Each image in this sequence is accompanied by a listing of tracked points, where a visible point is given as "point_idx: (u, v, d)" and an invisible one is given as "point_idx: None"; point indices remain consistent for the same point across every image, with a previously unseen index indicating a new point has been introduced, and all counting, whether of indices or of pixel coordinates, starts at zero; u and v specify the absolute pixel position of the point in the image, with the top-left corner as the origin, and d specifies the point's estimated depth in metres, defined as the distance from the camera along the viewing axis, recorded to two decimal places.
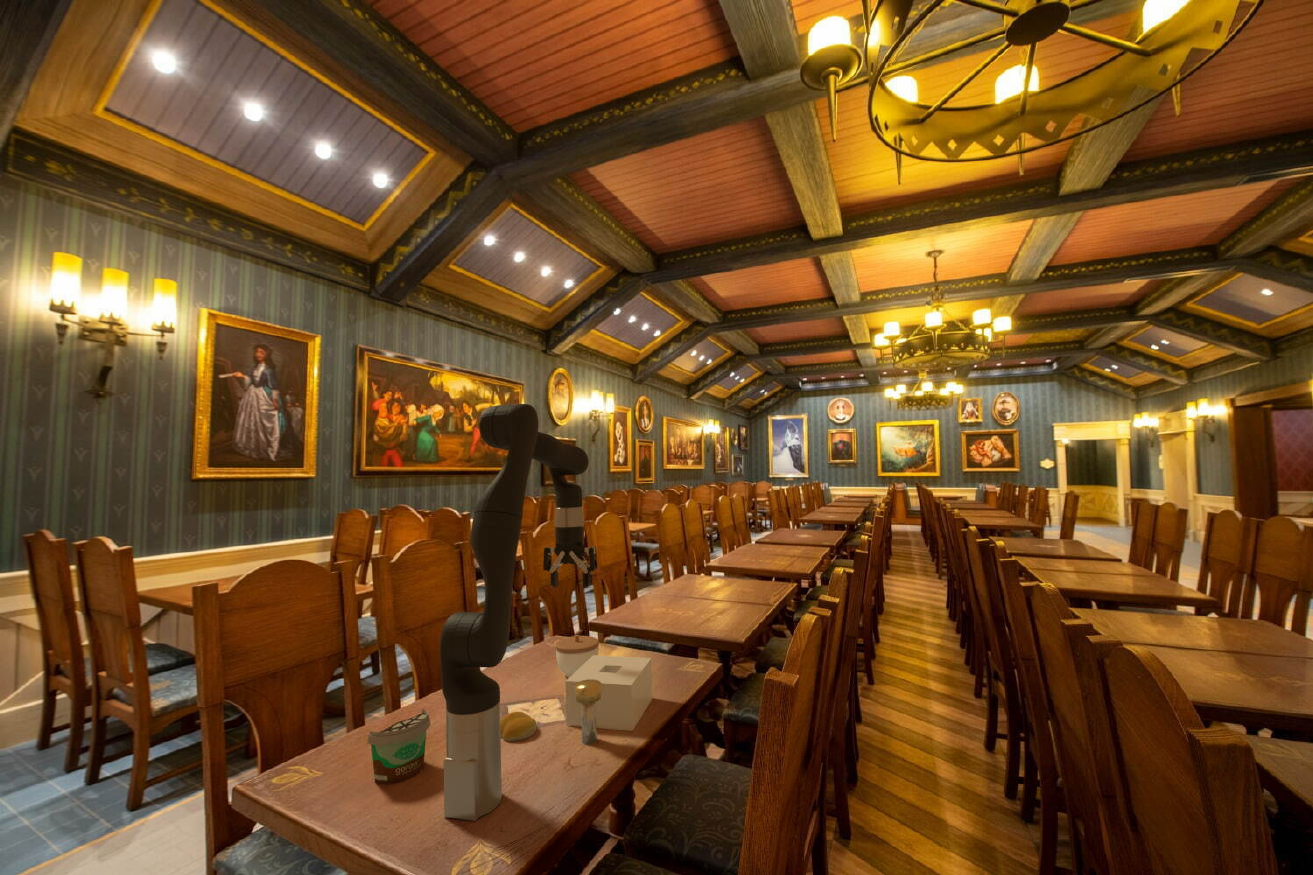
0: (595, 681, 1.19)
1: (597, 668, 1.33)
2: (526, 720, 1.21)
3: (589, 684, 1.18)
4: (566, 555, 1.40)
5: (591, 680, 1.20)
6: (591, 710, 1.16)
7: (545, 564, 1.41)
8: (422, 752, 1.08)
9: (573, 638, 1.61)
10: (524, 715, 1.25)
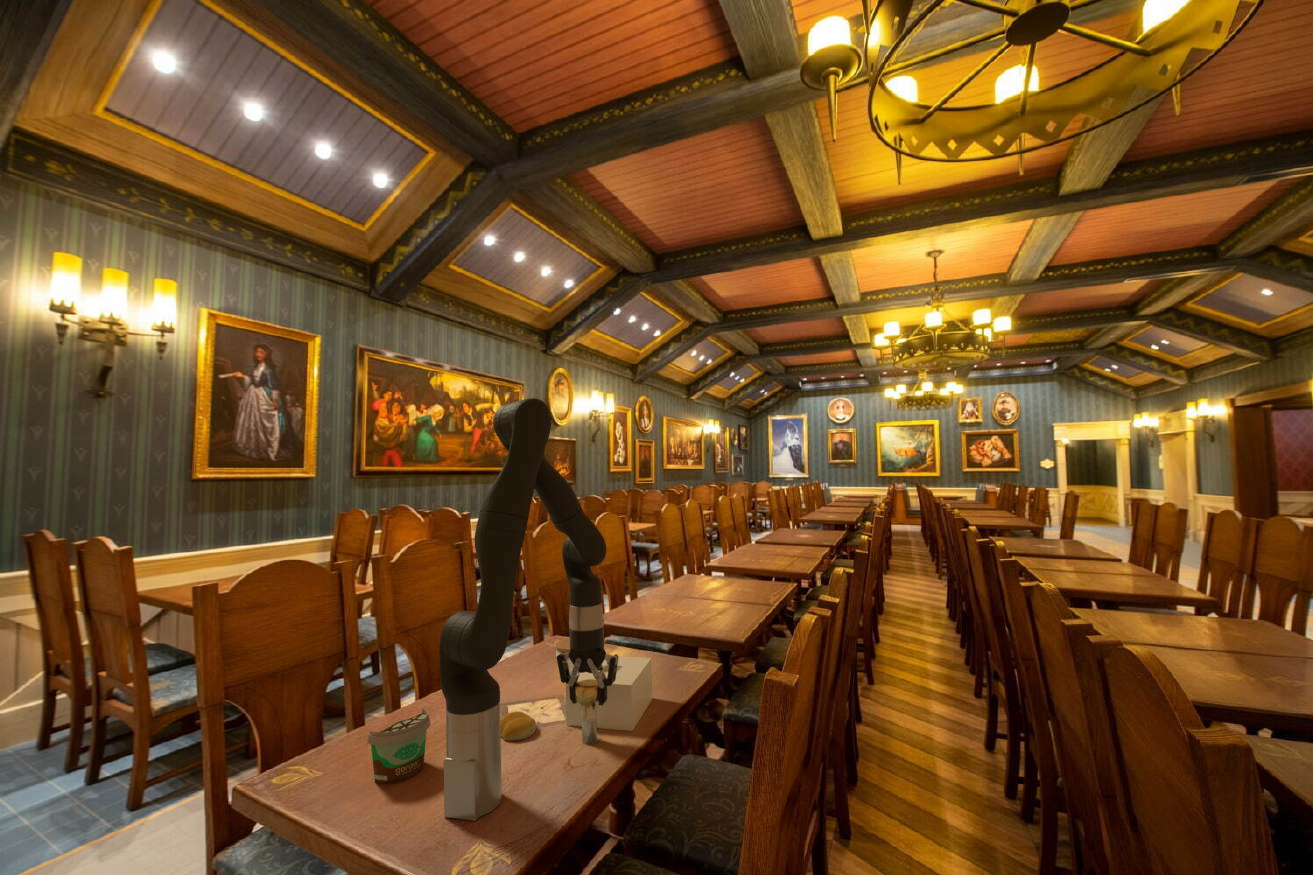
0: (595, 681, 1.19)
1: None
2: (526, 720, 1.21)
3: (589, 684, 1.18)
4: (583, 662, 1.17)
5: (591, 680, 1.20)
6: (592, 710, 1.16)
7: (562, 675, 1.18)
8: (422, 752, 1.08)
9: None
10: (523, 715, 1.25)
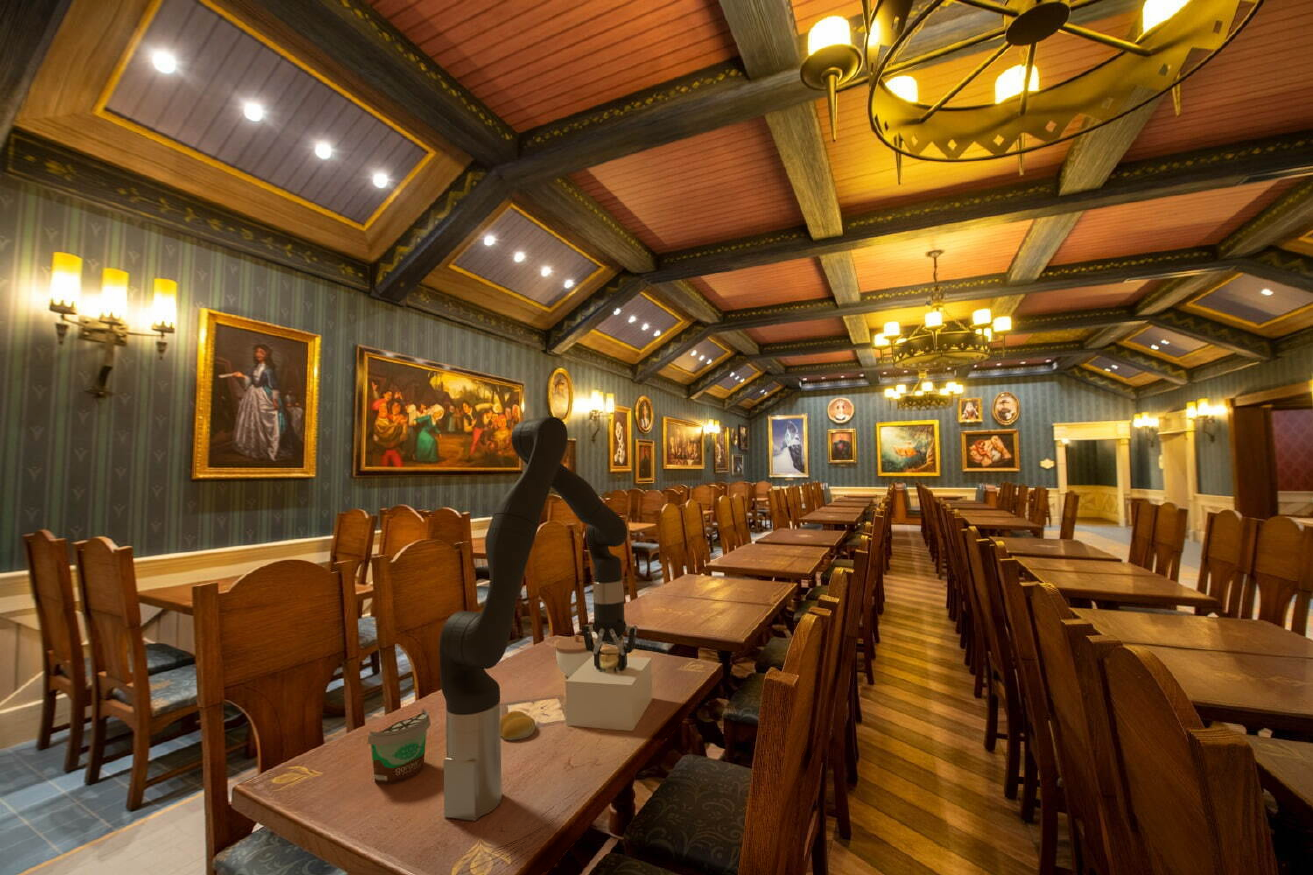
0: (617, 650, 1.34)
1: None
2: (525, 719, 1.22)
3: (611, 652, 1.32)
4: (606, 632, 1.32)
5: (613, 649, 1.35)
6: None
7: (587, 644, 1.33)
8: (422, 752, 1.08)
9: (573, 638, 1.61)
10: (523, 714, 1.25)
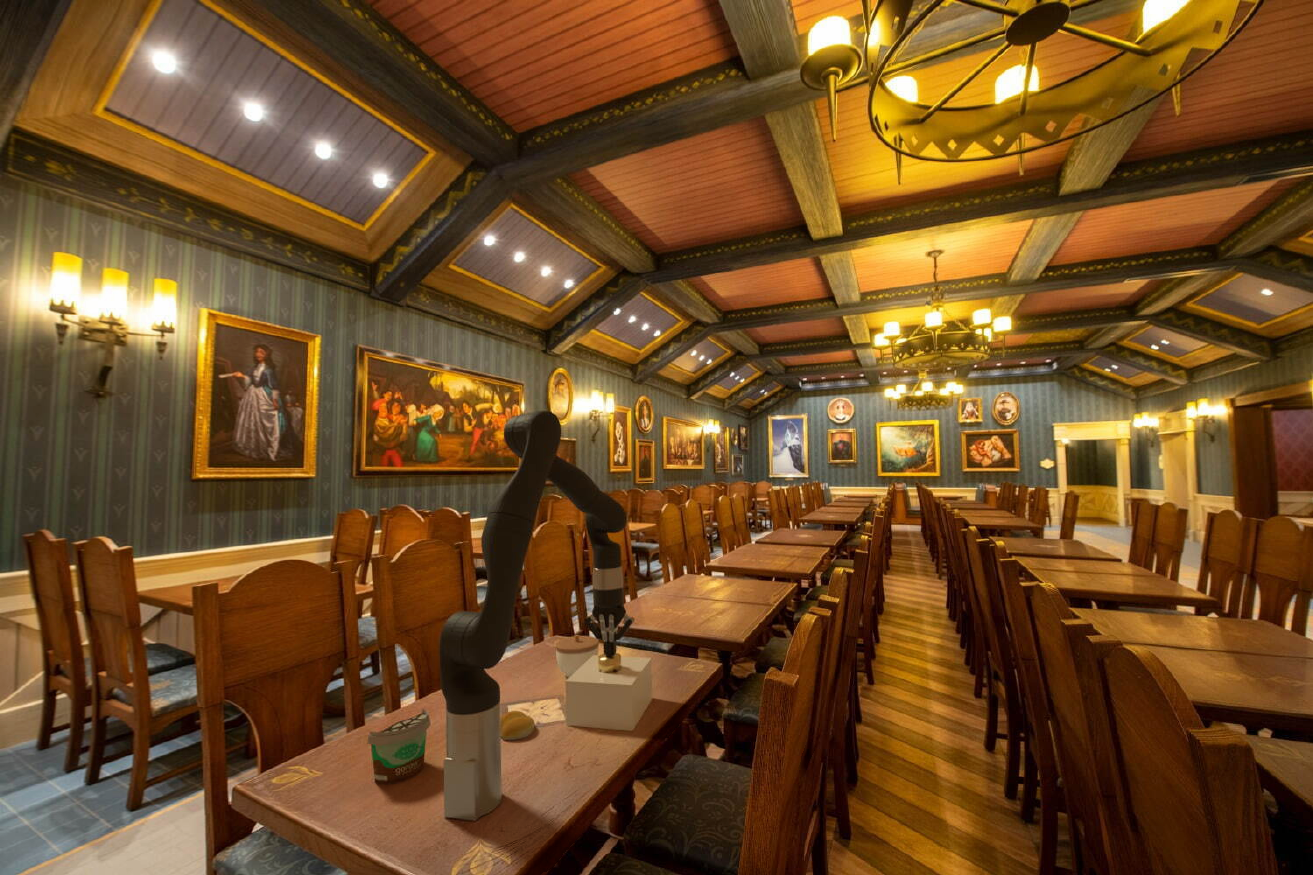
0: (616, 654, 1.34)
1: (597, 668, 1.33)
2: (524, 719, 1.22)
3: None
4: (605, 618, 1.32)
5: None
6: None
7: (595, 633, 1.33)
8: (422, 752, 1.08)
9: (573, 638, 1.61)
10: (522, 714, 1.25)
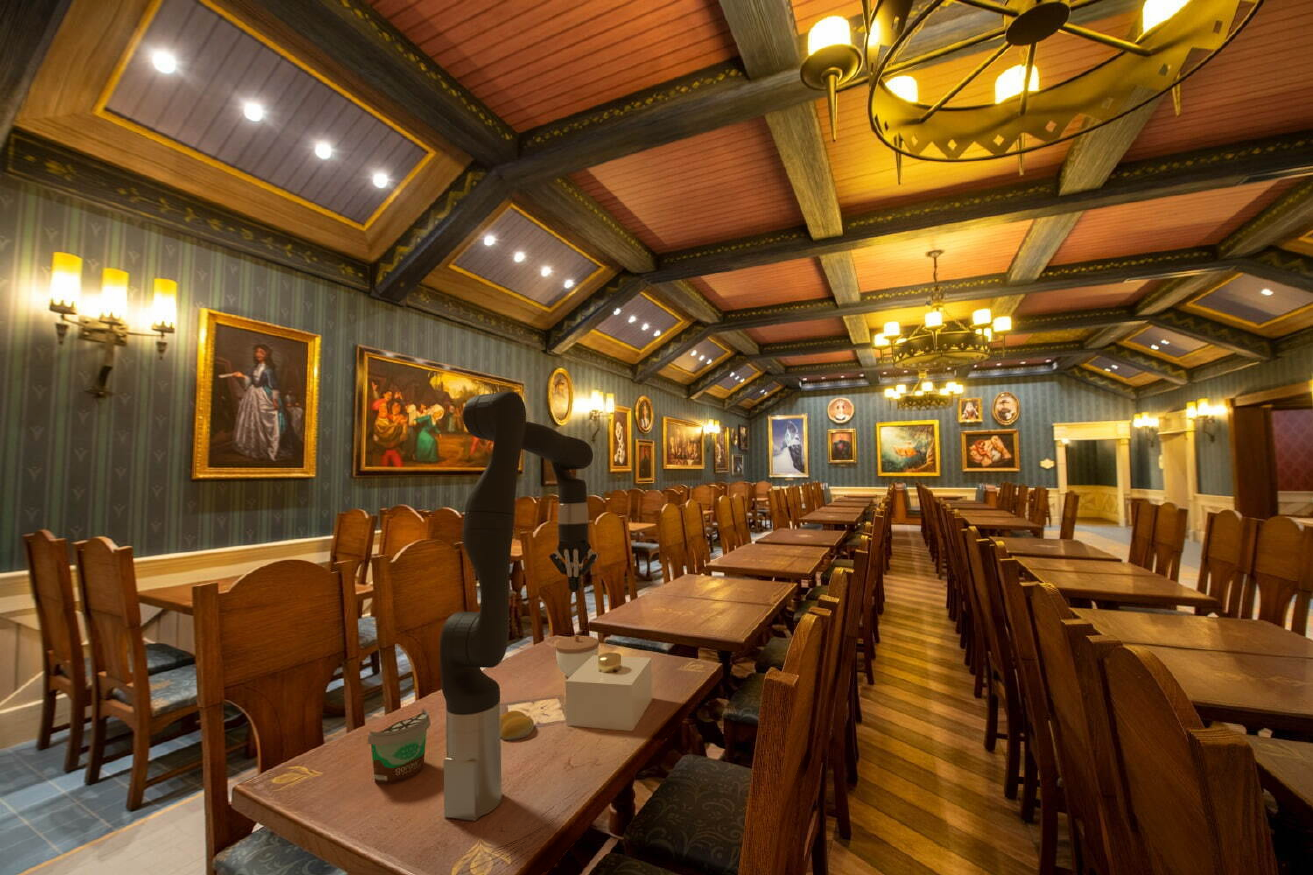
0: (616, 654, 1.34)
1: (597, 668, 1.33)
2: (523, 719, 1.22)
3: (610, 656, 1.32)
4: (570, 553, 1.33)
5: (612, 653, 1.35)
6: None
7: (560, 568, 1.34)
8: (422, 752, 1.08)
9: (573, 638, 1.61)
10: (521, 714, 1.25)
